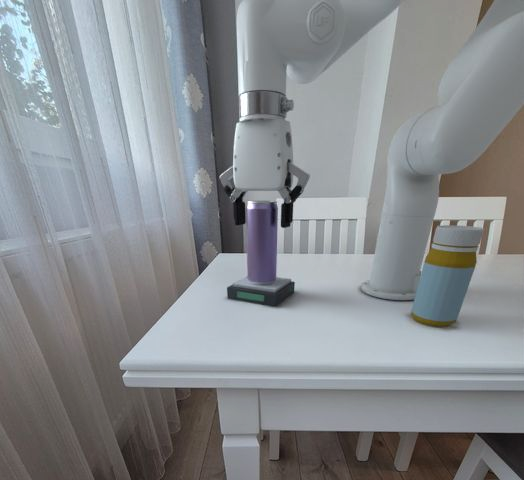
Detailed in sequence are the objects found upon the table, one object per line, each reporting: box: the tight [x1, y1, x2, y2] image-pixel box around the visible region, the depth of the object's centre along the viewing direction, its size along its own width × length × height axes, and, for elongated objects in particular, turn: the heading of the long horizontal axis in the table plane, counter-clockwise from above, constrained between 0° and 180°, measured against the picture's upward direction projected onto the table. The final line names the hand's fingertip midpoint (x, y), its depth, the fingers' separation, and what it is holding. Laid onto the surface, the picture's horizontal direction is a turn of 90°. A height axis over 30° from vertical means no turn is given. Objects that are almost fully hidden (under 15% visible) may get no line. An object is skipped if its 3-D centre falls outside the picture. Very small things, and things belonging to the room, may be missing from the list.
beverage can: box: [245, 200, 279, 285], centre depth 58 cm, size 6×6×15 cm
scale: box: [226, 275, 296, 308], centre depth 62 cm, size 11×10×3 cm
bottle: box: [410, 224, 485, 328], centre depth 47 cm, size 7×7×15 cm
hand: (262, 225), depth 56 cm, fingers open, 9 cm apart
